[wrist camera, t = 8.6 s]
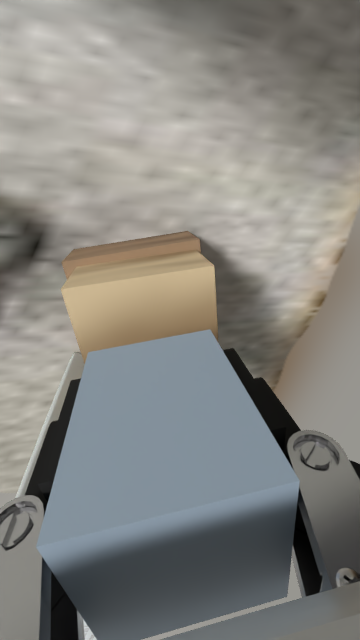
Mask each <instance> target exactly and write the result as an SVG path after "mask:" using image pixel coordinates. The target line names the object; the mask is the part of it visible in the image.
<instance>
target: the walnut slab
mask: <svg viewBox="0 0 360 640" xmlns="http://www.w3.org/2000/svg"><path fill="white" fill-rule="evenodd" d="M195 249H196V250H197V251H198V252H199V253H200V254H201V249H200V239H198V238H197V237H195V236H194V235H193V234H191V233H190V232H188V231H185V232H179V233H172V234H166V235H160V236H154V237H148V238H141V239H135V240H129V241H123V242H117V243H111V244H104V245H98V246H92V247H86V248H80V249H74V250H73V251H72V252H71V253H70V254H69V255H68V256H67V257H66V258H65V259H64V260H63V261H62V265H63V268H64V271H65V274H66V277H67V280H68V278H69V277H70V275H71V274H72V272H73V271H74V270H75V268H76V267H79V266H86V265H93V264H99V263H106V262H113V261H120V260H127V259H134V258H140V257H147V256H154V255H161V254H168V253H175V252H181V251H188V250H195Z"/></svg>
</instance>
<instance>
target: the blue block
mask: <svg viewBox="0 0 360 640" xmlns="http://www.w3.org/2000/svg"><path fill="white" fill-rule="evenodd" d="M299 483H300V480H299V479H298V477H297V475H296V474H295V472H294V470H293V469H292V467H291V465H290V464H289V462H288V460H287V458H286V457H285V455H284V453H283V452H282V450H281V448H280V447H279V445H278V443H277V442H276V440H275V438H274V436H273V435H272V433H271V431H270V430H269V428H268V426H267V425H266V423H265V421H264V420H263V418H262V416H261V414H260V413H259V411H258V409H257V408H256V406H255V404H254V403H253V401H252V399H251V398H250V396H249V394H248V392H247V391H246V389H245V387H244V386H243V384H242V382H241V381H240V379H239V377H238V376H237V374H236V372H235V370H234V369H233V367H232V365H231V364H230V362H229V360H228V359H227V357H226V355H225V354H224V352H223V350H222V348H221V347H220V345H219V343H218V342H217V340H216V338H215V337H214V335H213V333H212V332H211V330H210V329H209V330H204V331H198V332H193V333H188V334H182V335H177V336H172V337H166V338H161V339H156V340H151V341H145V342H140V343H135V344H129V345H124V346H119V347H113V348H108V349H103V350H98V351H92V352H88V354H87V358H86V362H85V366H84V369H83V373H82V377H81V381H80V384H79V388H78V392H77V396H76V399H75V403H74V407H73V410H72V414H71V418H70V422H69V425H68V429H67V433H66V437H65V440H64V444H63V448H62V452H61V455H60V459H59V463H58V467H57V470H56V474H55V478H54V481H53V485H52V489H51V493H50V496H49V500H48V504H47V508H46V511H45V515H44V519H43V523H42V526H41V530H40V534H39V538H38V541H37V545H36V548H37V550H38V551H39V553H40V554H41V556H42V557H43V559H44V560H45V562H46V563H47V565H48V566H49V568H50V569H51V571H52V572H53V574H54V575H55V577H56V578H57V580H58V581H59V583H60V584H61V586H62V587H63V589H64V590H65V592H66V594H67V595H68V597H69V598H70V600H71V601H72V603H73V604H74V606H75V607H76V609H77V610H78V612H79V613H80V615H81V616H82V618H83V619H84V621H85V622H86V624H87V625H88V627H89V628H90V630H91V631H92V633H93V634H94V636H95V637H96V639H97V640H141V639H145V638H148V637H151V636H155V635H158V634H162V633H165V632H168V631H172V630H175V629H178V628H182V627H186V626H189V625H192V624H196V623H199V622H203V621H206V620H209V619H213V618H216V617H220V616H223V615H226V614H230V613H233V612H237V611H240V610H243V609H247V608H250V607H254V606H257V605H261V604H264V603H267V602H271V601H274V600H277V599H281V598H284V597H287V593H288V583H289V575H290V565H291V556H292V547H293V538H294V529H295V519H296V510H297V501H298V492H299Z"/></svg>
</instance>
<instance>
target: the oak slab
mask: <svg viewBox="0 0 360 640" xmlns="http://www.w3.org/2000/svg"><path fill="white" fill-rule="evenodd" d="M61 292H62V295H63V298H64V301H65V304H66V307H67V310H68V314H69V317H70V320H71V323H72V326H73V329H74V332H75V336H76V339H77V342H78V345H79V348H80V351H81V354H82V357H83V361H84V364H85V362H86V358H87V354H88V352H92V351H98V350H103V349H108V348H113V347H119V346H124V345H129V344H135V343H140V342H145V341H151V340H156V339H161V338H166V337H172V336H177V335H182V334H188V333H193V332H198V331H204V330H209V329H210V330H211V332H212V333H213V335H214V337H215V338H216V340H217V342H218V325H217V307H216V288H215V269H214V265H213V264H212V263H211V262H210V261H208V260H207V259H206V258H205V257H204V256H203V255H201V254H200V253H199V252H198V251H197V250H196V249H195V250H188V251H181V252H175V253H168V254H161V255H154V256H147V257H140V258H134V259H127V260H120V261H113V262H106V263H99V264H93V265H86V266H79V267H76V268H75V270H74V271H73V272H72V274H71V275H70V277H69V278H68V280H67V281H66V282H65V284H64V285H63V287H62V288H61Z"/></svg>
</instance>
